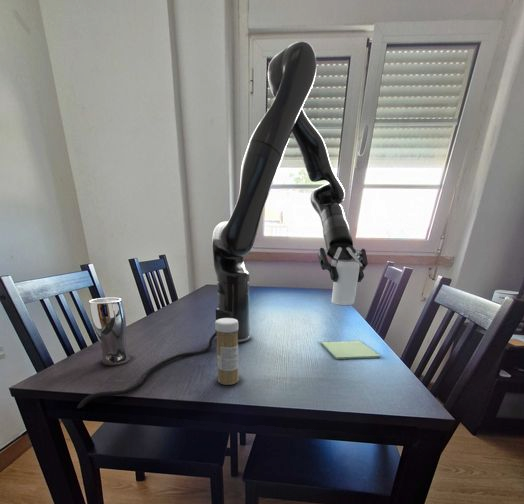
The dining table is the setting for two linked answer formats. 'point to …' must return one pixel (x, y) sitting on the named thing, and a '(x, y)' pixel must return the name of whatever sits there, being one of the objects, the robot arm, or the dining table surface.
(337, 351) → the can mat
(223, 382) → the sprinkles bottle
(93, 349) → the dining table surface
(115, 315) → the beer glass
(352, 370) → the dining table surface
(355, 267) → the can
